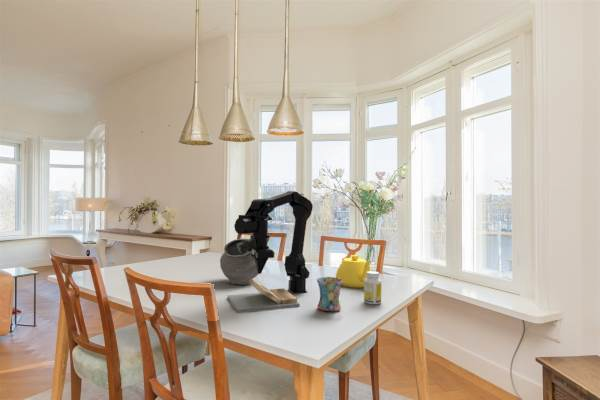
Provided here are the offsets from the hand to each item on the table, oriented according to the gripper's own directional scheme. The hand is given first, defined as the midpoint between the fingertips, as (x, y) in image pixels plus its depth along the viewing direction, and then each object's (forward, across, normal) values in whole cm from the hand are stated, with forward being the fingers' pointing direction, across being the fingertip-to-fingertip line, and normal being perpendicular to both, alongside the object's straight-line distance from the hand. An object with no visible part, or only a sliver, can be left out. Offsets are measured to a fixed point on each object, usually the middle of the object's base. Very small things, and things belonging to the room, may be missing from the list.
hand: (259, 273), depth 131 cm
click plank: (+7, 0, +2) cm, 7 cm away
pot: (+11, -35, +1) cm, 37 cm away
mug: (+11, +17, +22) cm, 30 cm away
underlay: (+11, 0, +1) cm, 11 cm away
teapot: (+11, -15, +51) cm, 54 cm away
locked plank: (+11, 0, +10) cm, 14 cm away
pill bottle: (+11, +13, +42) cm, 45 cm away
